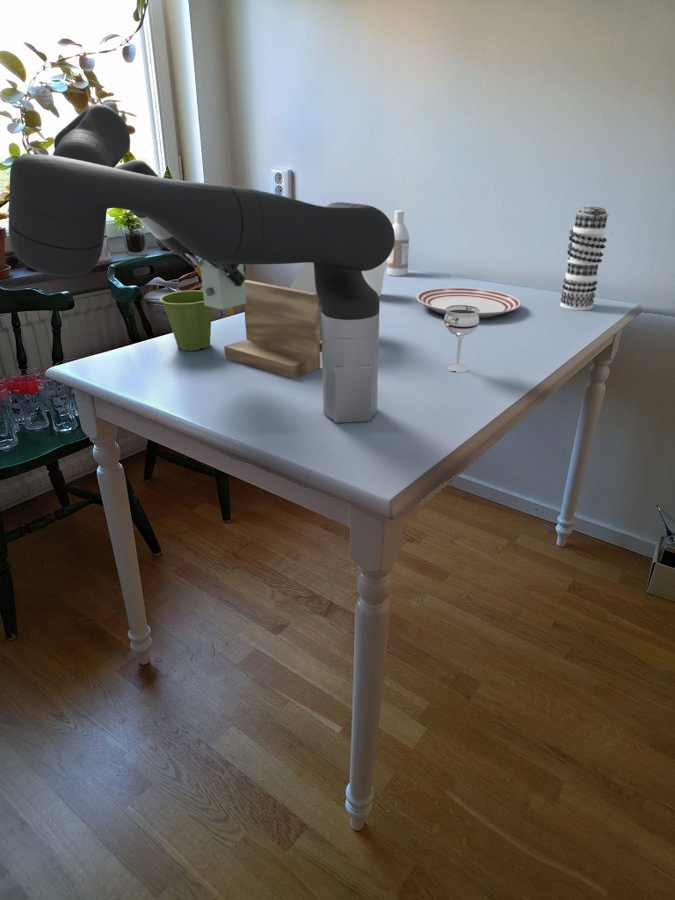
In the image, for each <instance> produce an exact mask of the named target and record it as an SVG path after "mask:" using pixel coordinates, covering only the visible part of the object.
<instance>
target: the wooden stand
mask: <svg viewBox="0 0 675 900" xmlns="http://www.w3.org/2000/svg"><path fill="white" fill-rule="evenodd" d="M244 281H245V294H246V303H245V304H243V311H244V321H245V322H244V324H245V334H246V335H245V337H246V339H243V340H239V341H236V342H234V343H233V342H232V343H230V344H228V345H227V344H226V345H224V346H223V349H224V358H225V359H228V360H232V361H234V362H237V363H240V364H245V365H247V366H251V367H255V368H259V369H261V370H265V371H268V372H271V373H274V374H278V375H281V376H284V377H288V378H291V379H295V378H298V377H300V376H303V375H305V374H307V373H311V372H312V371H315V370H317V369H320V368H321V351H320V336H319V298H318V295H317V293H313V292H308V291H302V290H297V289H292V288H290V287H286V286H281V285H280V286H279V285H276V284H272V283H271V284H269V283H264V282H261V281H254V280H249V279H247V280H245V279H244Z"/></svg>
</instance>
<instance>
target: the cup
mask: <svg viewBox="0 0 675 900" xmlns="http://www.w3.org/2000/svg"><path fill="white" fill-rule="evenodd" d="M386 267H387V259H386V260H385V262H384V263H382V264H381V265H380V266H378V267H376V268H374V269H372V270H368V271H362V275H363V277H364V279H365V281H366V282H367V283H368V285H369V286H370V287H371V288H372V289H373V290H375V291H376V292H377V294H378V296H379V298H380V297H381V296H382V290H383V285H384V278H385V272H386V271H385V270H386Z"/></svg>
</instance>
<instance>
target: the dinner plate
mask: <svg viewBox="0 0 675 900" xmlns="http://www.w3.org/2000/svg"><path fill="white" fill-rule="evenodd" d="M416 300H417V301H418V302H419V304H421V305H423V306H424V307H426V308H427V309H431V311H435V312H437V313H439V314H442V315H444V316H445V315H446V313H447V312H446V310H445V308H446V307H448V306H453V305H468V306H474V307H477V308H479V309H480V311H479V313H478V316H479V319H485V318H490V317H496V316H498V315H503V314H506V313H509V312H512V311H515V310H516V309H519V307H521V304H522V302H521V300H520V299H518V298H516V297H515V296H513V295H511V294H508V293H504V292H501V291H496V290H492V289H485V288H484V289H483V288H474V287H461V286H460V287H458V286H457V287H455V286H453V287H438V288H437V287H436V288H430V289H425V290H422V291H419V292H418V294H416Z"/></svg>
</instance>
